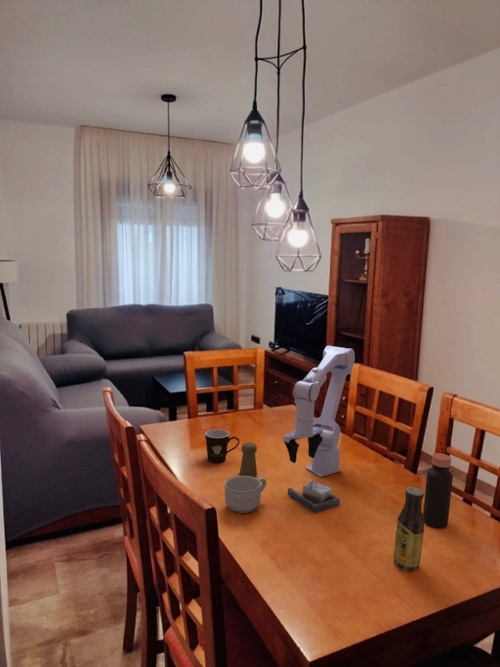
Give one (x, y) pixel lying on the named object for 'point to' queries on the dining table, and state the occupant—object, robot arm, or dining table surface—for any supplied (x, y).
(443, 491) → the dark water bottle
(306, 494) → the block
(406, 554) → the sauce bottle
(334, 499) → the channel bracket
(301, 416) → the robot arm
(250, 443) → the olive pawn piece
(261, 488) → the teacup
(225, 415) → the dining table surface
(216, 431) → the coffee mug
